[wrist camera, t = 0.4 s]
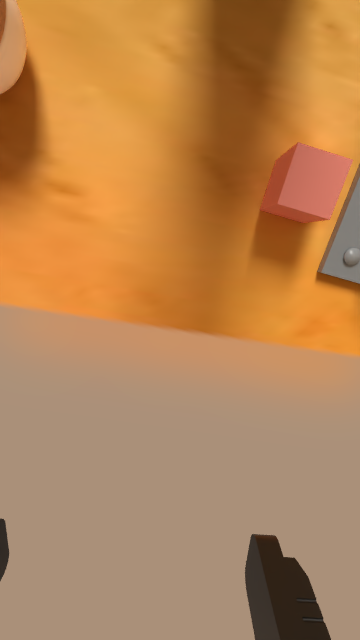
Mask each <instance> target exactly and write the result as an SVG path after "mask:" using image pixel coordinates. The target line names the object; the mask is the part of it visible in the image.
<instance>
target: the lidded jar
mask: <svg viewBox="0 0 360 640" xmlns="http://www.w3.org/2000/svg"><path fill="white" fill-rule="evenodd" d="M26 51H27V41H26V32H25V27H24V22H23V18H22V15H21V12H20V9H19V7H18V4H17V1H16V0H0V94H2V93H4V92H5V91H7V90H9V89H10V88H11V87H12V86H13V85H14V84H15V83H16V81H17V80H18V79H19V77H20V75H21V73H22V70H23V67H24V64H25V59H26Z"/></svg>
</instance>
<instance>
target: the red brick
mask: <svg viewBox="0 0 360 640" xmlns="http://www.w3.org/2000/svg"><path fill="white" fill-rule="evenodd" d="M352 161H353V160H352V159H349V158H345V157H342V156H339V155H336V154H333V153H330V152H327V151H323V150H320V149H317V148H314V147H311V146H308V145H305V144H301V143H297V144H296V145H294V146H293V147H292V148H291V149H289V150H288V151H287V152H286V153H284V154H283V155H282V156H281V157H280V158H278V159H277V160H276V162H275V165H274V168H273V171H272V174H271V177H270V180H269V183H268V186H267V189H266V192H265V195H264V198H263V201H262V205H261V208H260V210H261V211H265V212H268V213H271V214H275V215H278V216H282V217H285V218H288V219H292V220H295V221H298V222H302V223H306V222H314V221H322V220H330V218H331V215H332V212H333V210H334V207H335V205H336V202H337V200H338V197H339V195H340V192H341V189H342V187H343V184H344V182H345V179H346V177H347V174H348V171H349V169H350V166H351V164H352Z"/></svg>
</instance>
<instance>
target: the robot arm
mask: <svg viewBox="0 0 360 640" xmlns="http://www.w3.org/2000/svg"><path fill="white" fill-rule="evenodd" d="M8 558H9V548H8V541H7V532H6V525H5V521H4V519H0V581H1V579H2V577H3V575H4V572H5V569H6V566H7V563H8ZM245 581H246V590H247V596H248V602H249V607H250V613H251V618H252V624H253V629H254V635H255V640H331V638H330V635H329V633H328V630H327V627H326V625H325V623H324V621H323V616H322V614H321V611H320V608H319V605H318V604H317V602H316V597H315V594H314V592H313V589H312V586H311V584H310V581H309V578H308V576H307V575H306V573H305V572H304V571H303V569H302V568H301V566H300V565H299V563H298V562H297V560H296V559H295V558H288V557H283V554H282V551H281V548H280V545H279V542H278V539H277V537H276V536H273V535H257V534H252V536H251V540H250V545H249V550H248V556H247V561H246V567H245Z"/></svg>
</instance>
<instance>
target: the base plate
mask: <svg viewBox="0 0 360 640" xmlns="http://www.w3.org/2000/svg"><path fill="white" fill-rule="evenodd" d="M317 272H320V273H324V274H327V275H331V276H334V277H338V278H341V279H345V280H348V281H352V282H355V283H359V284H360V165H359V168H358V170H357V173H356V175H355V178H354V180H353V183H352V185H351V188H350V190H349V193H348V195H347V198H346V200H345V203H344V205H343V208H342V210H341V213H340V215H339V218H338V220H337V223H336V226H335V228H334V231H333V233H332V236H331V238H330V241H329V243H328V246H327V248H326V251H325V253H324V256H323V258H322V261H321V263H320V266H319V268H318V271H317Z"/></svg>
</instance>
